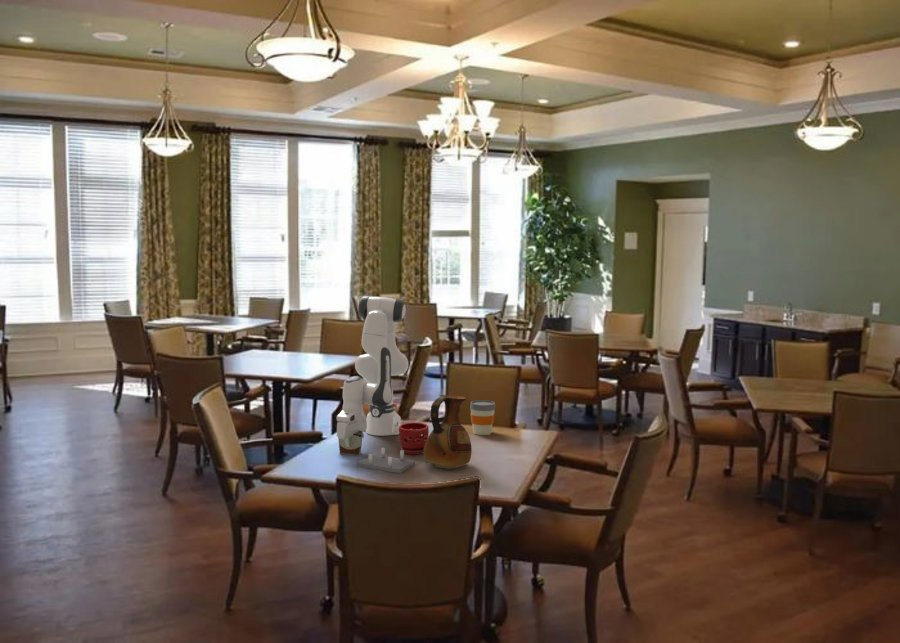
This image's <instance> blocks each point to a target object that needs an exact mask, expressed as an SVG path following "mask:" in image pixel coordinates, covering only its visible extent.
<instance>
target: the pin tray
mask: <svg viewBox="0 0 900 643" xmlns="http://www.w3.org/2000/svg"><path fill="white" fill-rule="evenodd" d="M415 465H416V460H412V459H405V452H404V450H402V449H400V450H399V458H398V457H392V456H386V448H385V447H381V448H380V455H377V454H373V453H368V457H366V458H364V459H363V460H360V461H358V462H356V467H357V468H358V467H359V468H363V469H370V470H377V471H383V472H392V473H397V474H398V473H399V474H401V473H403V472H405V471H407V470H408V469H410V468H411V467H413V466H415Z"/></svg>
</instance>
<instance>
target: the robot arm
mask: <svg viewBox="0 0 900 643" xmlns="http://www.w3.org/2000/svg"><path fill="white" fill-rule="evenodd" d="M406 308H407V307H406V303H405V302H404V301H403V300H401V299H398V298H396V299H395V298H391V297H388V296H387V297H386V296H371V295H365V296H362V297H360V299H359V301H358V304H357V311H358V316H359V317H360V318H361V319H363V321H364V324H363V329H362V333H361V334H362V335H361V343H360V344H361V348H362V349H363V350H364V352H365V353H364V354H359V355H358V356H357V358H356V359H355V363H354V368H355V371H356V372H357V374H358V375H359V376H358V375H354V376H349V377H347V378H345V380H344V382H343V386H342V387H343V388H342V400H343V404H342V410H341V411H340V412H339V413H338V414H337V415H336V421H337V423H336V436H337V438H339V439H344V440H345V443H346V447H350V446H351V443H350V441H349V439H350V437H351V436H353V434H355V433H358V432H359V430H361V431H362V432H363V433H364V432H365V433H366V434H368V435H371V436H377V437H378V436H382V437H383V436H397V435H398V436H399V426H400V425H402V418H401V416H400V415H399V414H398V413H397V412H396V411H395V410H396V409H395V408H397V405H398V404H397V403H396V402H394V389H393V386H392V377H394V376H401V375H404V374H406V373H407V370H408V368H409V360H408V358H407V356H406V355H405V354H404V353H402V352H401V351H400V350H399V348H398V346H397V343H396V330H397V329H396V328H397V327H396V326H397V323H399V322H401V321H403V319H404V317H405V316H406V312H407V311H406V310H407V309H406ZM364 404H366V405H368V413H367V415H366V413H365V411H364Z"/></svg>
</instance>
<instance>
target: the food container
mask: <svg viewBox="0 0 900 643" xmlns="http://www.w3.org/2000/svg"><path fill="white" fill-rule="evenodd" d="M337 438H338V437H337ZM364 438H365V435H364V431H363V432H362V431H361V430H359V432H358V433H355V434H353V436H351V437H350V439H349V441H350V443H351V446H350V447H346V443H345V440H344V439H339V438H338V448H339V449H338V450H339V454H340V455H350V456H361V454H362V453H361V451H362V444H363V439H364Z"/></svg>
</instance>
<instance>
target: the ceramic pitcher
mask: <svg viewBox="0 0 900 643" xmlns="http://www.w3.org/2000/svg"><path fill="white" fill-rule="evenodd" d="M466 400H467V397H465V396H461V395H447V394H441V395H440V396H439V397H437V398H435V399H434V401H433V402H432V404H431V406H430V419H431V425H432V430H431V432H430V434H428V438H427V441H426V443H425V447H424V453H423V459H424V461H425V462H427V463H429V464H431V466H433V467H437V468H441V469H449V470H452V469H455V468H457V467H459V468H460V467H463V466H465V465H467V464H468V463H469V462H470V460H471V458H472V454H473V452H472V451H473V449H472V442H471V437H470V436H469V433H468V431H467V430H466V428H465V427H464V426H463V424H461V422H460V411H461V410H460V408H461V405H462V404H463V403H464V401H466ZM443 402H444V405H445V415H444V417H443V419H442V422H441V423H440V418H439V417H440V415H439V413H440V412H439V411H440V407H441V405H442V403H443Z"/></svg>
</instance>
